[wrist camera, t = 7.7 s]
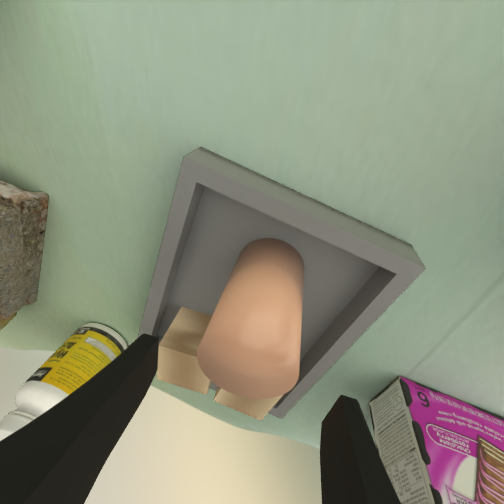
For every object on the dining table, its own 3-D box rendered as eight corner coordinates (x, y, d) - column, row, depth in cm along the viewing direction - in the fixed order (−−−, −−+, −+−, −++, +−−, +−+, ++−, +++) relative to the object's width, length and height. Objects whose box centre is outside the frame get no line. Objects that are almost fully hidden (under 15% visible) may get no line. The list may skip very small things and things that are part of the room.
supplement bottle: (91, 311, 26) (-12, 416, 18) (139, 344, 27) (63, 457, 19) (71, 336, 29) (-27, 437, 20) (116, 366, 30) (40, 472, 22)
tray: (411, 244, 17) (425, 268, 15) (284, 391, 27) (281, 418, 24) (200, 146, 16) (183, 156, 14) (148, 332, 26) (133, 355, 24)
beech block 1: (228, 320, 22) (213, 362, 19) (221, 352, 25) (206, 394, 21) (181, 306, 23) (158, 345, 19) (178, 339, 25) (156, 379, 21)
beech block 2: (287, 349, 23) (283, 395, 19) (267, 375, 25) (260, 420, 22) (243, 330, 23) (230, 372, 19) (227, 357, 25) (213, 400, 21)
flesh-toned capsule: (312, 247, 18) (312, 346, 11) (294, 301, 20) (284, 409, 13) (243, 230, 18) (201, 316, 11) (233, 285, 21) (193, 382, 14)
